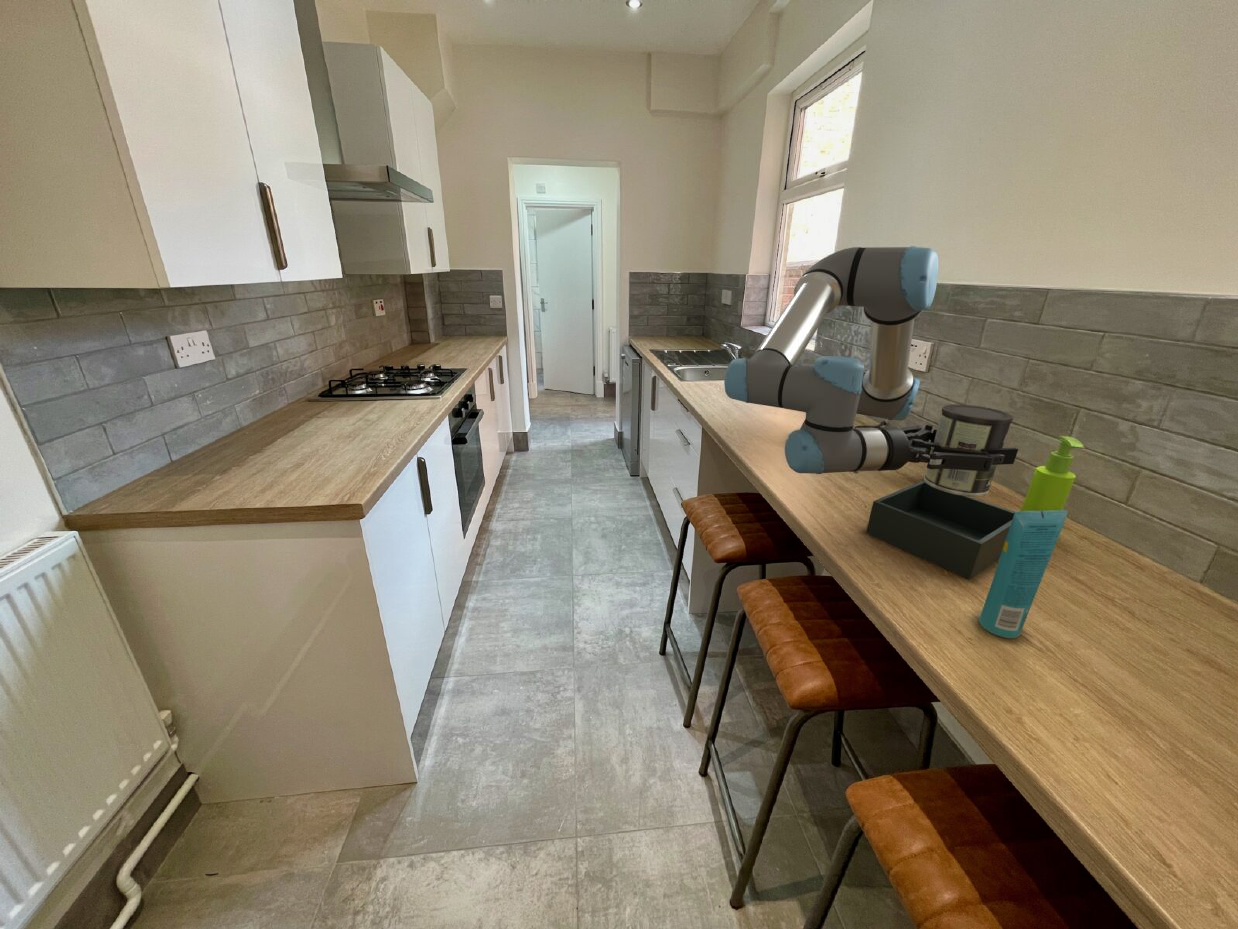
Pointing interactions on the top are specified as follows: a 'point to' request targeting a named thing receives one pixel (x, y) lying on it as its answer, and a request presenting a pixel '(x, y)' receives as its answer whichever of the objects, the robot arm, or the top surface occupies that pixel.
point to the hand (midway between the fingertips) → (987, 445)
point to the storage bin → (942, 527)
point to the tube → (1020, 570)
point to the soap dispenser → (1052, 479)
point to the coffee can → (968, 446)
